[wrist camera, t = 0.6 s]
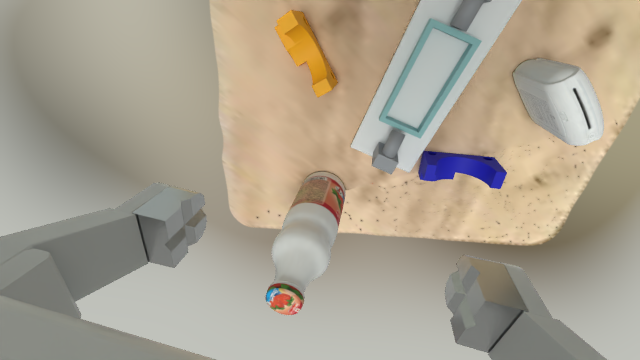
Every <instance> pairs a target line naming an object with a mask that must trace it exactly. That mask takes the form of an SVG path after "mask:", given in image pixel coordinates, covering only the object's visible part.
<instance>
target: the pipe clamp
mask: <svg viewBox="0 0 640 360" xmlns="http://www.w3.org/2000/svg"><path fill="white" fill-rule="evenodd" d="M277 23H278V25H277V26H276V27H275V30H276V32H277V33H278V35H279V37H280V39H281V41H282V43H283V44H284V46H285V48H286V50H287V51H288V52H289V54H290V55H291V57H292V58H293V60H294V61H295V63H296V65H297V67H298V66H300V65H302V64H303V63H305V62H307V64H308V66H309V69H310V72H311V75H312V79H313V85H312V88H313V90H314V92H315V94H316V95H317V97H320V96H322V95H324V94H325V93H327V92H329V91H331V90H332V89H333V88H334V87H335V85H336V84H337V83H338V82H337V80H336V78H335V76H334V74H333V72H332V70H331V68H330V66H329V64H328V62H327V60H326V58H325V56H324V54H323V52H322V50H321V48H320V46H319V44H318V42H317V40H316V38H315V36H314V34H313V32H312V30H311V28H310V26H309V24H308V22H307V20H306V18H305V16H304V14H303V12H300V11H294V10H291V11H289V12H288V13H286V14H285V15H284V16H282V17H281V18H280V19H278V20H277Z"/></svg>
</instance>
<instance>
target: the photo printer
mask: <svg viewBox="0 0 640 360" xmlns="http://www.w3.org/2000/svg"><path fill="white" fill-rule="evenodd" d="M513 78H514V81H515V84H516V87H517V89H518V92H519V94H520V96H521V99H522V101H523V103H524V105H525V107H526V110H527V112H528V114H529V115H530V117H531V119H532V120H533V121H534V122H535V123H536V124H538V125H539V126H541V127H542V128H544V129H546V130H547V131H549V132H550V133H552V134H553V135H555V136H556V137H558V138H559V139H561V140H562V141H564V142H565V143H567V144H569V145H576V146H579V145H587V144H589V143H590V142H592V141H595V140H598V139H600V138H601V137H602V135H603V130H604V120H603V114H602V110H601V107H600V104H599V101H598V98H597V95H596V93H595V91H594V88H593V86H592V84H591V82H590V80H589V79H588V77H587V75H586V74H585V73H584V72H583V71H582V69H581V68H579V67H578V66H574V65H570V64H565V63H561V62H556V61H552V60H547V59H543V58H537V59H536V60H535V59H531V60H527V61H525V62H523V63H521V64H520V65H519V66H518V67H517V68H516V70H515V72H513Z"/></svg>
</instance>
